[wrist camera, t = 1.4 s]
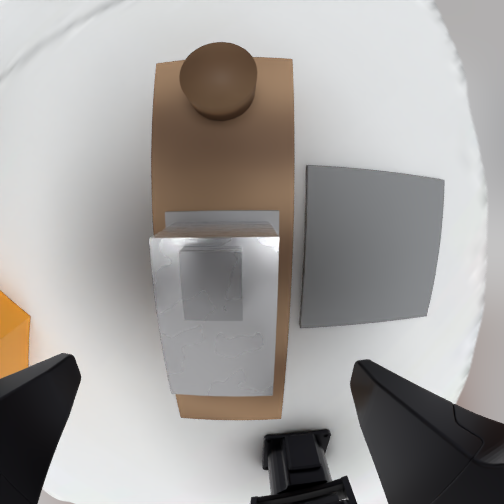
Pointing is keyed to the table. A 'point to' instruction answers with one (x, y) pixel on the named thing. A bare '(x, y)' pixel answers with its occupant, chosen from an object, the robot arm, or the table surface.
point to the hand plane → (228, 174)
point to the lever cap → (217, 306)
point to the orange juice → (13, 337)
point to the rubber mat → (369, 245)
